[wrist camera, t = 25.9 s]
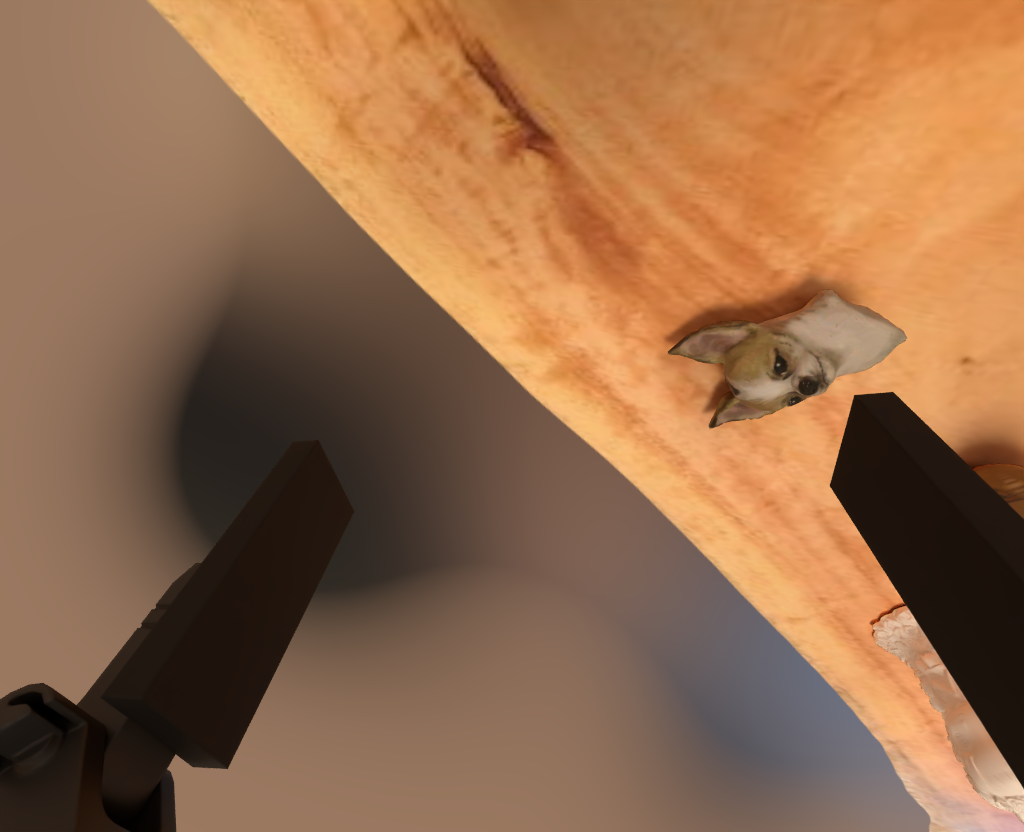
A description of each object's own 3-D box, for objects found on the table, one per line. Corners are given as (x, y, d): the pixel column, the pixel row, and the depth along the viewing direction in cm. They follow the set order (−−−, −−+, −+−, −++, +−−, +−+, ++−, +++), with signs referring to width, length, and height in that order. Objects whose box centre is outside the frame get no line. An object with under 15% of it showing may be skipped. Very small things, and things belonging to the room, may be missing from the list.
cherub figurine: (937, 580, 58) (1085, 777, 42) (1010, 613, 60) (1176, 811, 44) (849, 631, 65) (945, 816, 49) (916, 659, 68) (1030, 844, 51)
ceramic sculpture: (935, 405, 34) (725, 474, 41) (878, 347, 41) (706, 414, 48) (903, 282, 30) (673, 382, 36) (846, 240, 37) (660, 331, 43)
